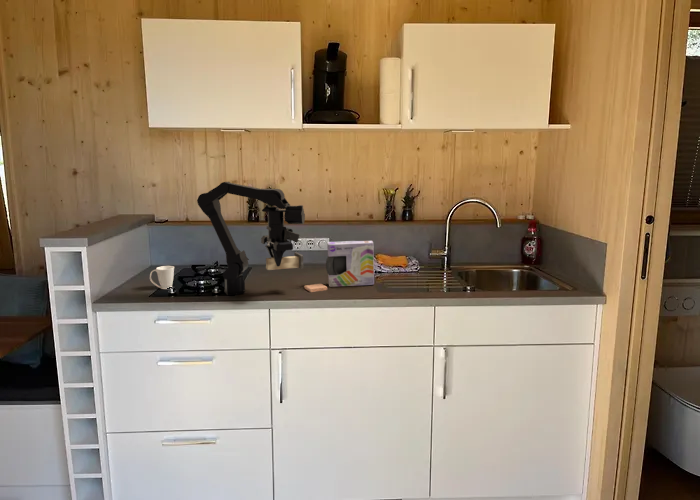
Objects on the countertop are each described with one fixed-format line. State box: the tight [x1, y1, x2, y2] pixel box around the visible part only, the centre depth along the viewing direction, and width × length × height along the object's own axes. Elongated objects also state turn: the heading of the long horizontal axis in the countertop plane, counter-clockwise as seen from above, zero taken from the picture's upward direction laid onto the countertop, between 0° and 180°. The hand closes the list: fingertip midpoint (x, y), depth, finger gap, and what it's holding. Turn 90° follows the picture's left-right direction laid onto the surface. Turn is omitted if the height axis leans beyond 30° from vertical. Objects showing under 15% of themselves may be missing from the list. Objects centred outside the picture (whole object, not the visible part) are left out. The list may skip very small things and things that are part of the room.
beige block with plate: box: [265, 251, 304, 271], centre depth 187 cm, size 13×7×5 cm, turn 117°
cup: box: [149, 265, 175, 290], centre depth 196 cm, size 7×10×8 cm
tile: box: [304, 283, 328, 293], centre depth 195 cm, size 2×6×7 cm
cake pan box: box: [325, 240, 375, 288], centre depth 199 cm, size 19×5×18 cm, turn 95°
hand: (277, 265), depth 186 cm, fingers closed on beige block with plate, 2 cm apart
